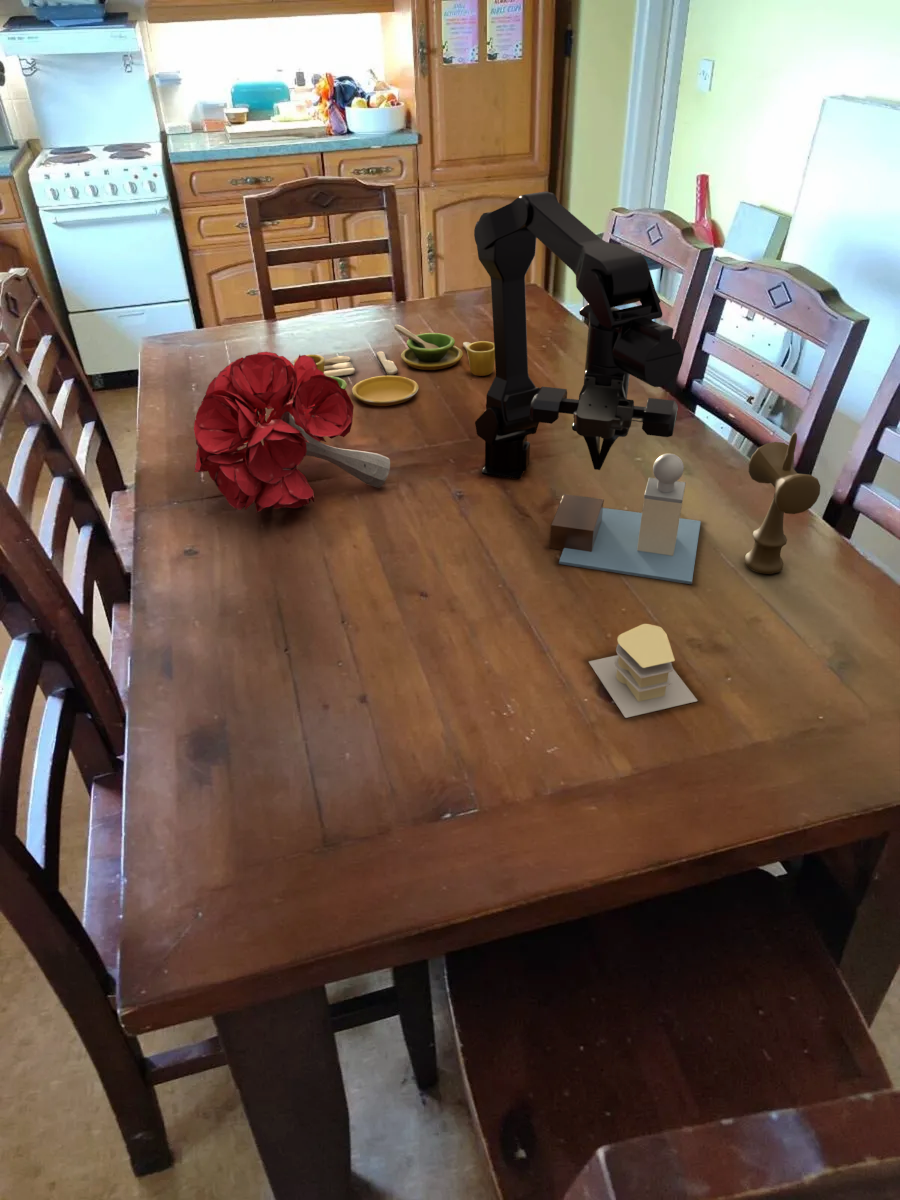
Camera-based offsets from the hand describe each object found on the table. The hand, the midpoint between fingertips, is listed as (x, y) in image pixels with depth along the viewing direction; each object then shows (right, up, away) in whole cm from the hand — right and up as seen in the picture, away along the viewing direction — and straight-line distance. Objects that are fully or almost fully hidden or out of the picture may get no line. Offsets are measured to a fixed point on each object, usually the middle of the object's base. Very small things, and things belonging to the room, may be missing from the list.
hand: (597, 468), depth 118 cm
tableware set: (-32, +26, +55) cm, 69 cm away
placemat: (+6, -10, +5) cm, 12 cm away
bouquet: (-44, -2, +17) cm, 47 cm away
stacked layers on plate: (+2, -28, -19) cm, 33 cm away
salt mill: (+4, -6, +2) cm, 8 cm away
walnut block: (-2, -9, +7) cm, 11 cm away
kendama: (+23, -14, 0) cm, 26 cm away
